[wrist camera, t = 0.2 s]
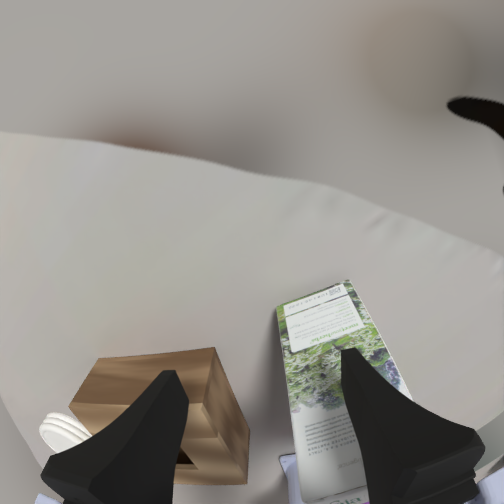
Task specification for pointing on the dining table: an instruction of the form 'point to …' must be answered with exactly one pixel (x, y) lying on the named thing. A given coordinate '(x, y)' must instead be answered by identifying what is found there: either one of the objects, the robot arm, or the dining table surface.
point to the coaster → (62, 431)
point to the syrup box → (328, 389)
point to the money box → (199, 412)
